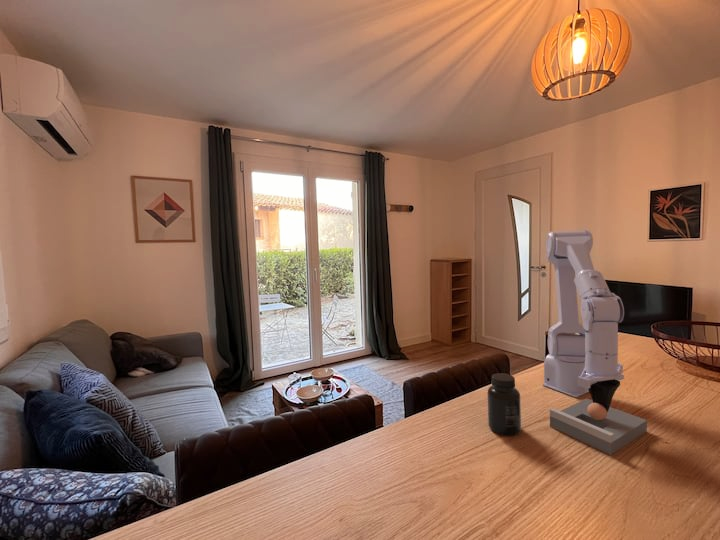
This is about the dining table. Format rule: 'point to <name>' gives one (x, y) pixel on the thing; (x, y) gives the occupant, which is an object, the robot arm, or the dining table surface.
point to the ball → (597, 411)
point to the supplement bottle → (504, 405)
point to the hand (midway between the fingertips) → (601, 411)
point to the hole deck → (598, 426)
